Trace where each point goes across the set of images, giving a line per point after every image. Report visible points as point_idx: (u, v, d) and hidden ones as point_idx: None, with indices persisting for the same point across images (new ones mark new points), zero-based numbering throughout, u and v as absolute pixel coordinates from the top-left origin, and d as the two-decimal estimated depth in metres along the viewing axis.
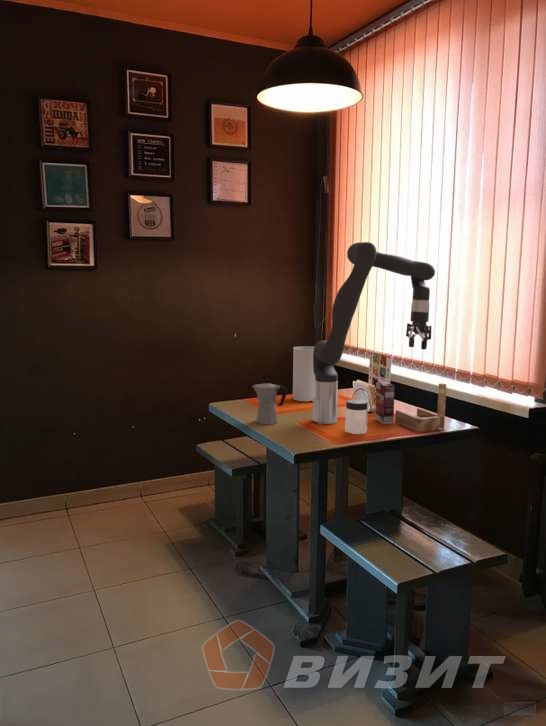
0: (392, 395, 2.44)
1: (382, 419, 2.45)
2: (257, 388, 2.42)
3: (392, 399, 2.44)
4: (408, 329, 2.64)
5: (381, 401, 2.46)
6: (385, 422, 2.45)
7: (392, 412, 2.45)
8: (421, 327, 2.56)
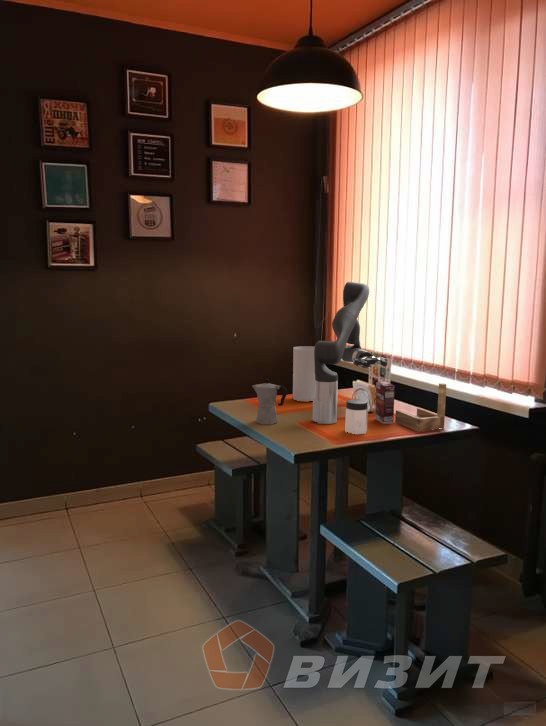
0: (392, 395, 2.44)
1: (382, 419, 2.45)
2: (257, 388, 2.42)
3: (392, 399, 2.44)
4: (357, 359, 2.62)
5: (381, 401, 2.46)
6: (385, 422, 2.45)
7: (392, 412, 2.45)
8: None
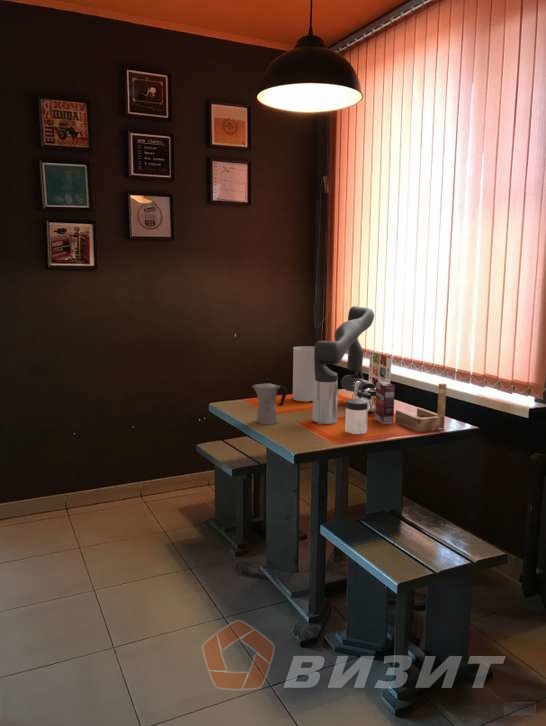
0: (392, 395, 2.44)
1: (382, 419, 2.45)
2: (257, 388, 2.42)
3: (392, 399, 2.44)
4: (359, 391, 2.59)
5: (381, 401, 2.46)
6: (385, 422, 2.45)
7: (392, 412, 2.45)
8: None
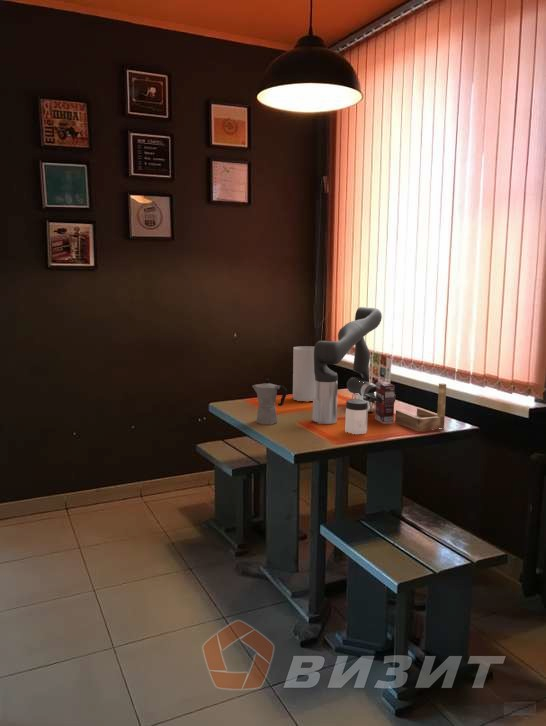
0: (392, 395, 2.44)
1: (382, 419, 2.45)
2: (257, 388, 2.42)
3: (392, 399, 2.44)
4: (368, 395, 2.51)
5: None
6: (385, 422, 2.45)
7: (392, 412, 2.45)
8: None
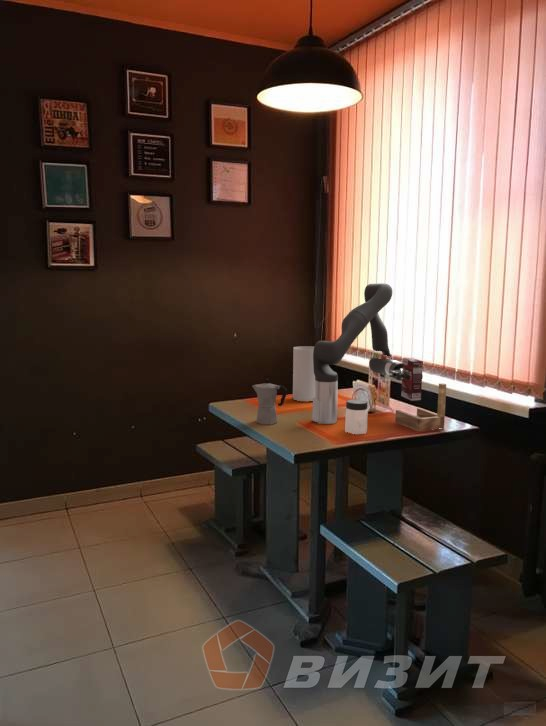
0: (420, 371, 2.38)
1: (410, 396, 2.39)
2: (257, 388, 2.42)
3: (420, 375, 2.38)
4: (395, 371, 2.45)
5: None
6: (413, 399, 2.39)
7: (420, 389, 2.39)
8: None
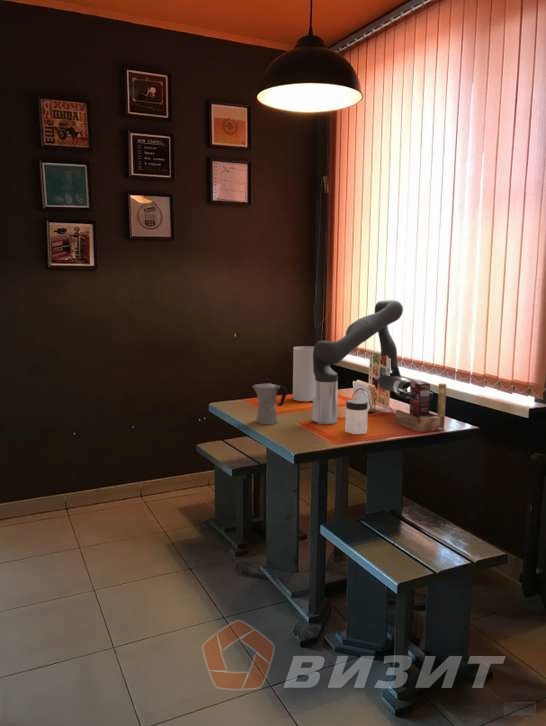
0: (427, 394, 2.37)
1: None
2: (257, 388, 2.42)
3: (427, 398, 2.37)
4: (401, 390, 2.45)
5: (415, 400, 2.39)
6: None
7: (427, 411, 2.38)
8: None
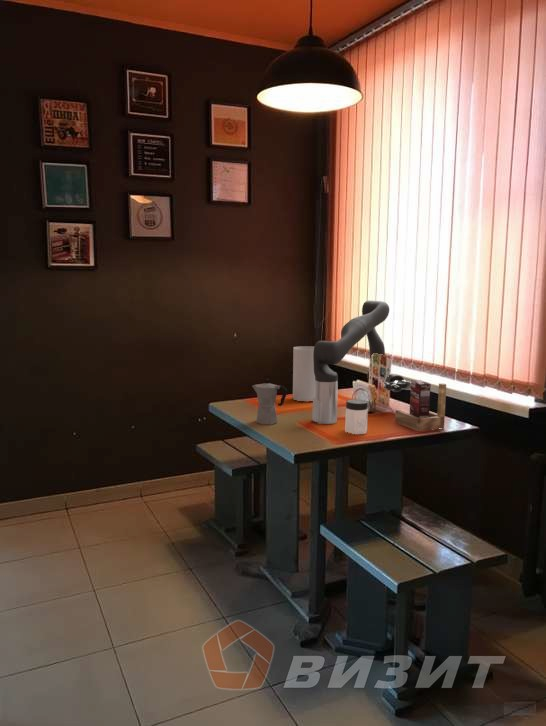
0: (428, 394, 2.37)
1: None
2: (257, 388, 2.42)
3: (428, 398, 2.37)
4: (388, 383, 2.57)
5: (416, 400, 2.39)
6: None
7: (427, 411, 2.38)
8: None
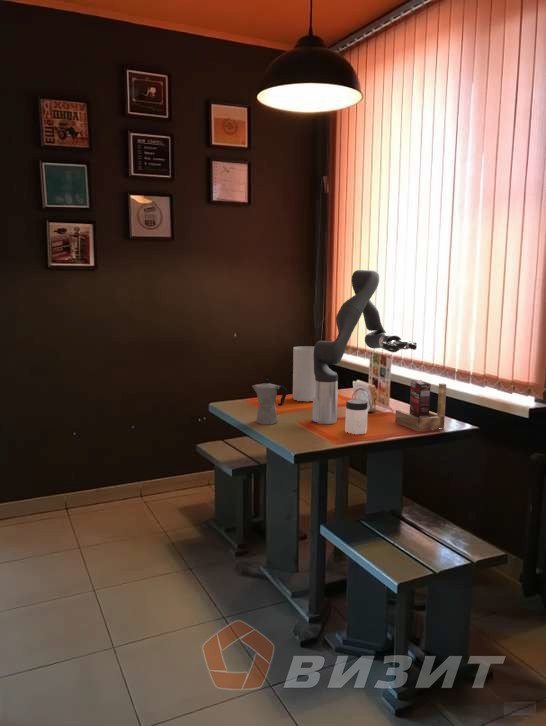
0: (428, 394, 2.37)
1: None
2: (257, 388, 2.42)
3: (428, 398, 2.37)
4: (385, 342, 2.56)
5: (416, 400, 2.39)
6: None
7: (427, 411, 2.38)
8: None
